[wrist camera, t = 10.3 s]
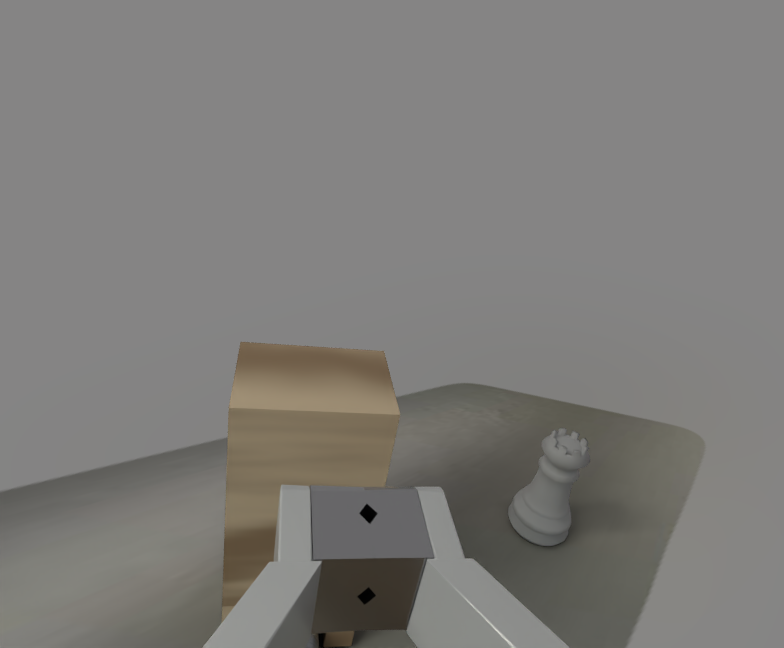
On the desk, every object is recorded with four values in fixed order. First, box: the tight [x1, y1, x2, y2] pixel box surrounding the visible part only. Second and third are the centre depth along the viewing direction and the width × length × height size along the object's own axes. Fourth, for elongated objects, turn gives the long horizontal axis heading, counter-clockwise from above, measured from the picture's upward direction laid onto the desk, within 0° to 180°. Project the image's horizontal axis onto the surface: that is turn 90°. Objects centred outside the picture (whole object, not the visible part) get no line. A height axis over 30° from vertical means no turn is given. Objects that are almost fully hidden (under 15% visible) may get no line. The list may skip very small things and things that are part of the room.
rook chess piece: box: [508, 428, 590, 546], centre depth 38 cm, size 4×4×8 cm
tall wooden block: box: [222, 342, 400, 647], centre depth 28 cm, size 5×7×16 cm
